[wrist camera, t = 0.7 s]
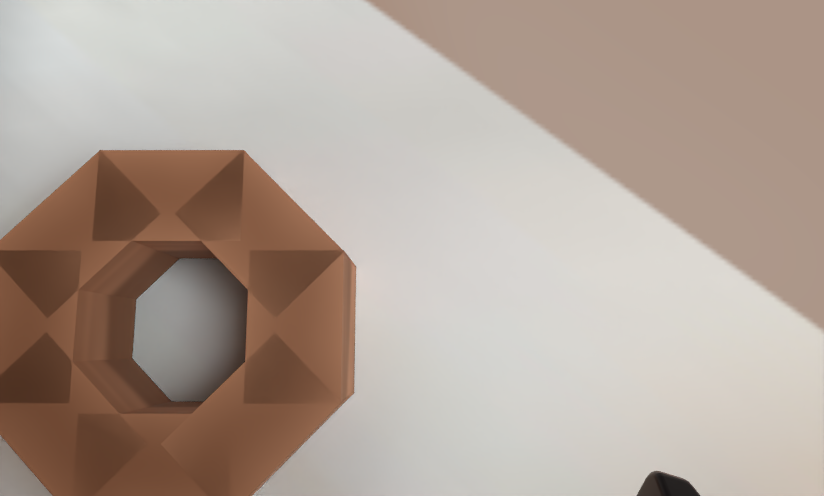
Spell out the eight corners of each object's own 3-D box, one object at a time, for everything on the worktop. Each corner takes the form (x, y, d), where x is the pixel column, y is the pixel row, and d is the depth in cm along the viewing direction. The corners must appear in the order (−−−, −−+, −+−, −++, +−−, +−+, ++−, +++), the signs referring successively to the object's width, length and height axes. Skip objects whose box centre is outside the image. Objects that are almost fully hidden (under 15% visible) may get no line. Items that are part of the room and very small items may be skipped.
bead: (353, 486, 22) (339, 517, 18) (40, 486, 22) (-41, 516, 18) (357, 182, 24) (346, 149, 20) (67, 182, 24) (-2, 150, 20)
